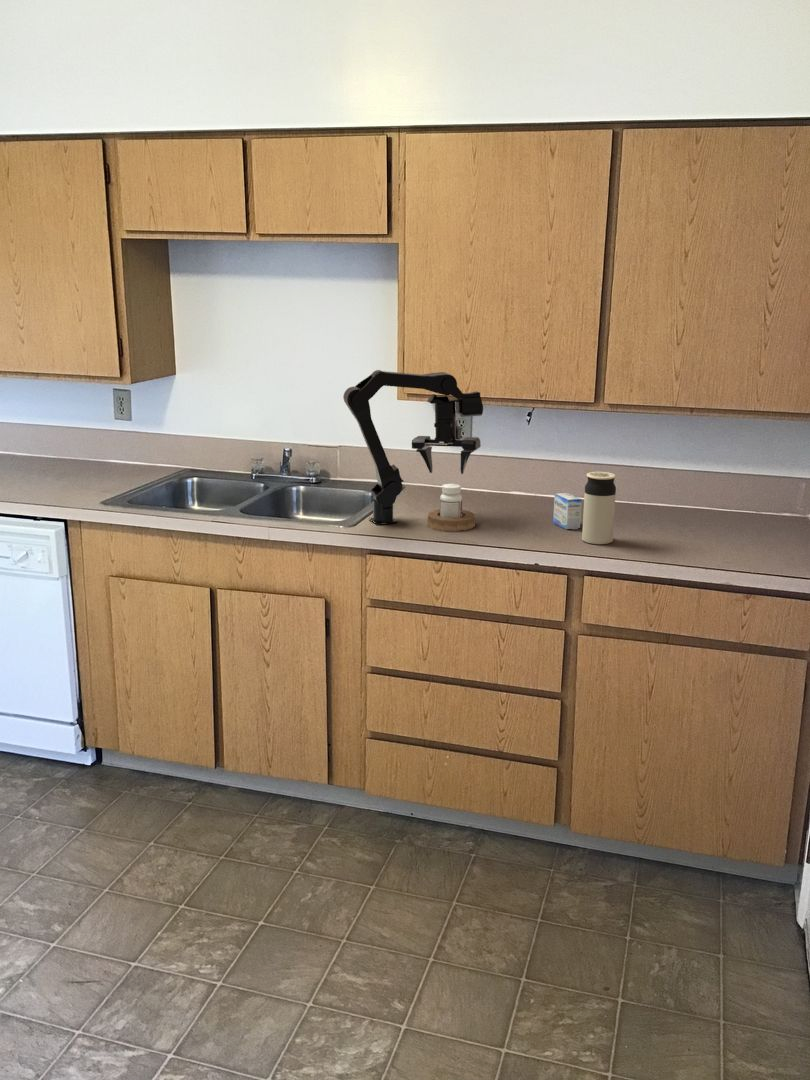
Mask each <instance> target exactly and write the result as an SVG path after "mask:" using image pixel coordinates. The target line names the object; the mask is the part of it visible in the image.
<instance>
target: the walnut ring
mask: <svg viewBox="0 0 810 1080" xmlns="http://www.w3.org/2000/svg"><path fill="white" fill-rule="evenodd" d="M475 523H476V513H474V512H472V511H471V510H467V509H462V518H443V517H440V509H434V510H432V511H429V512H428V514H427V526H428V527H429V528H431V529H432V528H433V529H432V530H438V531H442V532H460V530H464V531H469V530H471V529H473V527H474V528H475V527H476V526H475V525H476V524H475ZM470 528H471V529H470ZM468 529H469V530H468Z"/></svg>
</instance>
